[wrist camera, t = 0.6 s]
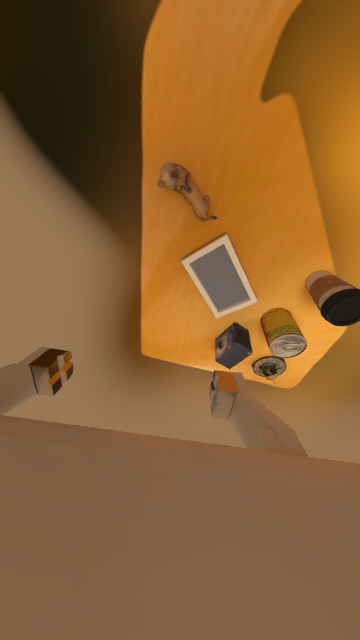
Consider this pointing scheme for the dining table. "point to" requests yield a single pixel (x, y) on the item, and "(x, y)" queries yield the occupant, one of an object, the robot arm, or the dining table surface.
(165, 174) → the lion figurine
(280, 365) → the plate of food
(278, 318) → the yellow food can
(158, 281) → the dining table surface
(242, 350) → the small box
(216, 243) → the picture frame
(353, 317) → the coffee cup
